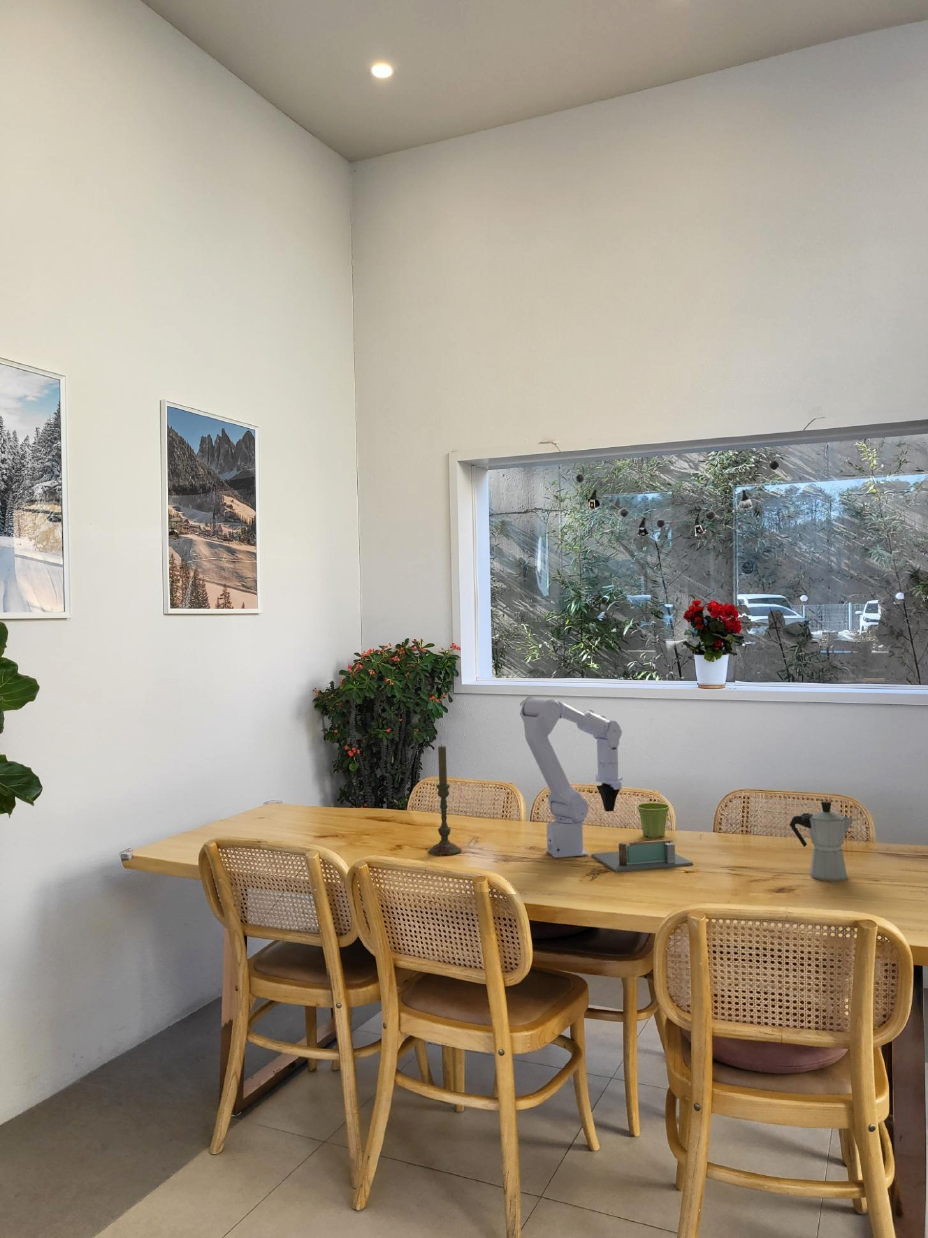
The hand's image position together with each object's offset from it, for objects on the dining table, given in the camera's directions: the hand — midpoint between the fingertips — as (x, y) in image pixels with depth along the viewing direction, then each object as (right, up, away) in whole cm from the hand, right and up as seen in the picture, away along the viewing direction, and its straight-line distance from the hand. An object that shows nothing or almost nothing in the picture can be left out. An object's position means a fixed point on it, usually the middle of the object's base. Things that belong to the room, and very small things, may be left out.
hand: (609, 811), depth 263 cm
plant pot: (+15, -9, +9) cm, 20 cm away
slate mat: (+5, -9, -18) cm, 21 cm away
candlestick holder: (-46, -11, -3) cm, 48 cm away
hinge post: (0, -9, -25) cm, 26 cm away
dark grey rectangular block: (+12, -9, -24) cm, 28 cm away
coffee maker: (+46, -8, -38) cm, 60 cm away
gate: (+7, -8, -23) cm, 26 cm away
